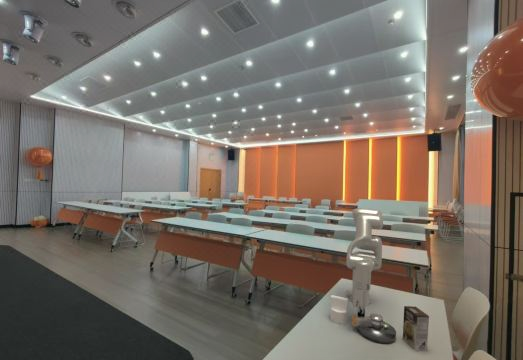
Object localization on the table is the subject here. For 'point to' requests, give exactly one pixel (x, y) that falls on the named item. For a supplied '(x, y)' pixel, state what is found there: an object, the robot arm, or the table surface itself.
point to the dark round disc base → (379, 333)
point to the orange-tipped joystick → (368, 321)
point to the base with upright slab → (339, 309)
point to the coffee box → (415, 328)
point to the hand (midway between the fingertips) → (360, 320)
